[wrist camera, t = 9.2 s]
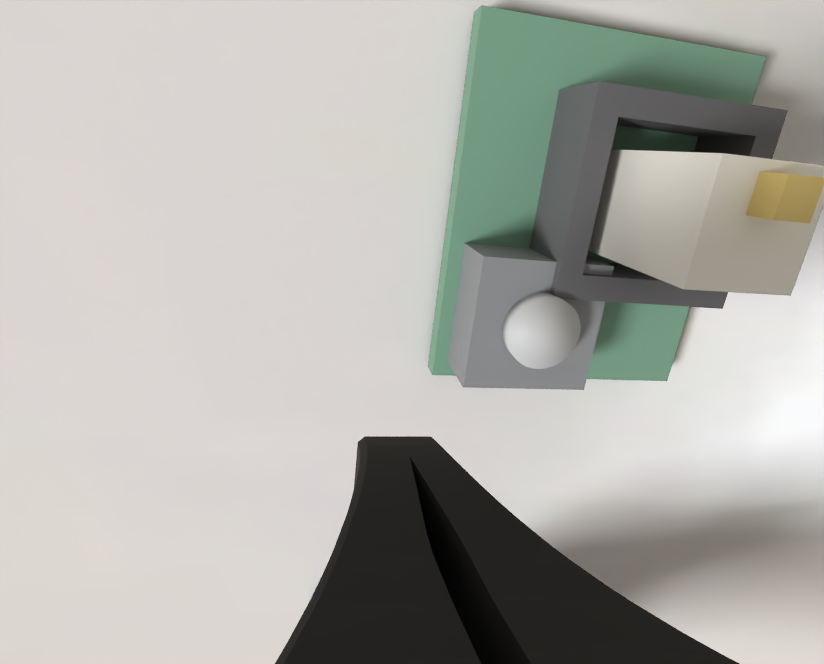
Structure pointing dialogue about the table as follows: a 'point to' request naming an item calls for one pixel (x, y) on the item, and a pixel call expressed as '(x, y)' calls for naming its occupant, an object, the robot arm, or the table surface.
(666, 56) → the board
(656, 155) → the plug
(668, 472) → the table surface
